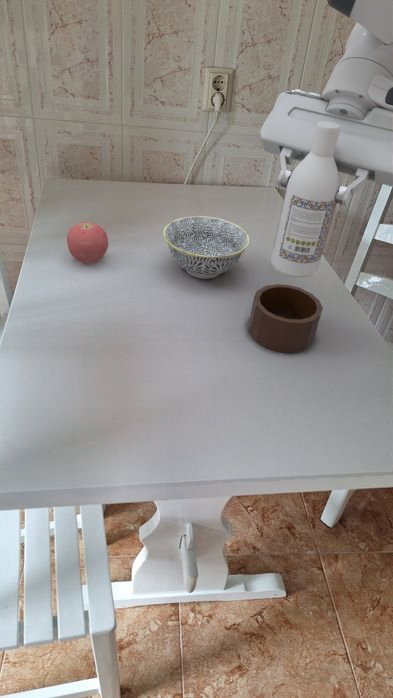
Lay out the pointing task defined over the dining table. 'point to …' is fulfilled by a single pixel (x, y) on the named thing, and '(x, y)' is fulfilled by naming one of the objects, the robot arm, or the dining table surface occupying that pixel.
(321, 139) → the bath foam
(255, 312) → the cup
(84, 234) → the apple
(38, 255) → the dining table surface
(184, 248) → the bowl
